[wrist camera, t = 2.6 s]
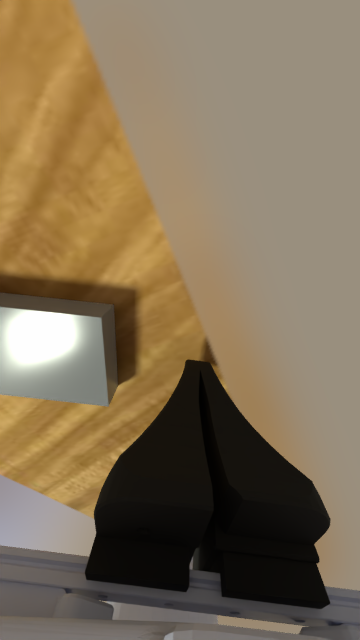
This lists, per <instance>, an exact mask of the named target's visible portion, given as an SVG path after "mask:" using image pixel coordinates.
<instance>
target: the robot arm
mask: <svg viewBox="0 0 360 640" xmlns="http://www.w3.org/2000/svg"><path fill="white" fill-rule="evenodd" d="M94 519H95V527H96V537H95V540H94V543H93V546H92V550H91V553H90V556H89V557H87V556H79V555H71V554H63V553H55V552H48V551H40V550H31V549H23V548H16V547H8V546H0V640H360V591H357V590H349V589H340V588H334V587H325V586H324V584H323V581H322V578H321V575H320V573H319V570H318V567H317V564H316V563H318V562H319V556H318V554H317V551H316V548H315V546H314V544H315V542H317V541H318V540H319V539H320V538H321V537H322V536H323V535H324V534H325V532H326V531H327V530H328V528H329V526H330V518H329V515H328V513H327V511H326V508H325V506H324V504H323V502H322V500H321V498H320V495H319V494H318V492H317V490H316V488H315V486H314V484H313V483H312V481H311V480H310V479H308V478H307V477H306V476H305V475H304V474H303V473H301V472H300V471H299V470H298V469H297V468H295V467H294V466H293V465H292V464H290V463H289V462H288V461H287V460H286V459H285V458H284V457H282V456H281V455H280V454H279V453H278V452H277V451H276V450H275V449H274V448H273V447H272V446H271V445H270V444H269V443H268V442H266V440H265V439H264V438H263V437H262V436H261V435H260V434H259V433H258V432H257V431H256V430H255V429H254V428H253V427H252V426H251V425H250V423H249V422H248V421H247V420H246V419H245V417H244V416H243V415H242V414H241V412H240V411H239V410H238V408H237V407H236V406H235V404H234V403H233V401H232V400H231V399H230V397H229V396H228V394H227V392H226V391H225V389H224V388H223V386H222V384H221V383H220V381H219V379H218V377H217V376H216V374H215V372H214V370H213V368H212V366H211V364H210V363H209V362H202V361H195V360H186V362H185V368H184V371H183V374H182V376H181V379H180V381H179V383H178V385H177V387H176V389H175V390H174V392H173V394H172V396H171V397H170V399H169V401H168V402H167V404H166V405H165V406H164V408H163V409H162V411H161V412H160V413H159V415H158V416H157V417H156V419H155V420H154V421H153V422H152V423H151V425H150V426H149V427H148V428H147V429H146V430H145V431H144V432H143V433H142V435H141V436H140V437H139V438H138V439H137V440H136V441H135V442H134V443H133V444H132V445H131V446H130V447H129V448H128V449H126V450H125V451H124V452H123V453H122V454H121V455H120V456H119V458H118V460H117V461H116V463H115V464H114V466H113V468H112V469H111V471H110V473H109V475H108V477H107V479H106V481H105V483H104V485H103V487H102V489H101V492H100V495H99V498H98V501H97V504H96V507H95V510H94ZM99 600H101V601H99ZM102 601H107V603H105V602H102ZM217 615H222V616H229V617H237V618H245V619H253V620H262V621H270V622H277V623H286V624H294V625H302V626H309V627H302V629H301V631H300V633H299V634H291V633H283V632H275V631H266V630H259V629H251V628H243V627H234V626H227V625H219V624H218V618H217Z"/></svg>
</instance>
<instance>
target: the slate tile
mask: <svg viewBox="0 0 360 640" xmlns="http://www.w3.org/2000/svg"><path fill="white" fill-rule="evenodd" d="M117 387H118V374H117V355H116V336H115V317H114V305H113V304H104V303H94V302H85V301H76V300H66V299H57V298H48V297H38V296H29V295H19V294H10V293H1V292H0V394H2V395H11V396H20V397H29V398H38V399H47V400H56V401H65V402H74V403H83V404H92V405H100V406H109V404H110V402H111V400H112V398H113V396H114V393H115V391H116V389H117Z"/></svg>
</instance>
